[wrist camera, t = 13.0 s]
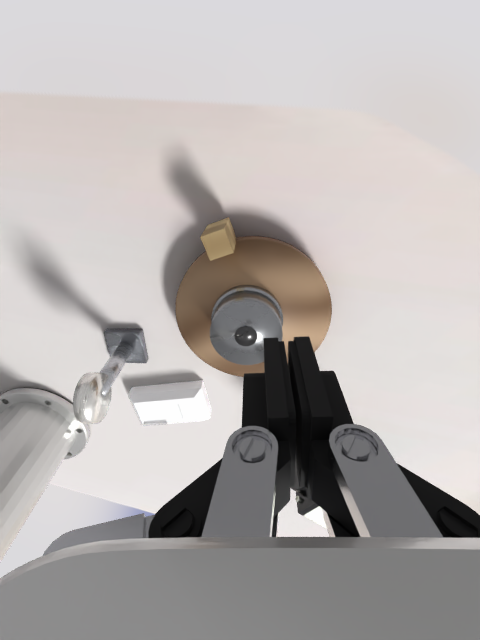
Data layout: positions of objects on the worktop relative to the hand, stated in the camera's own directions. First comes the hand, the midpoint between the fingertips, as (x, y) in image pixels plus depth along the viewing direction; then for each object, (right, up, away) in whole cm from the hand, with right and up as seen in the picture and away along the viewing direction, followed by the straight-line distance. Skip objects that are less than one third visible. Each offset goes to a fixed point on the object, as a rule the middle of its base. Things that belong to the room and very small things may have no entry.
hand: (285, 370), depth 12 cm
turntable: (-1, +3, +20) cm, 20 cm away
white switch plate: (-10, -8, +28) cm, 31 cm away
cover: (-1, +2, +19) cm, 19 cm away
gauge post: (-14, -1, +24) cm, 28 cm away
